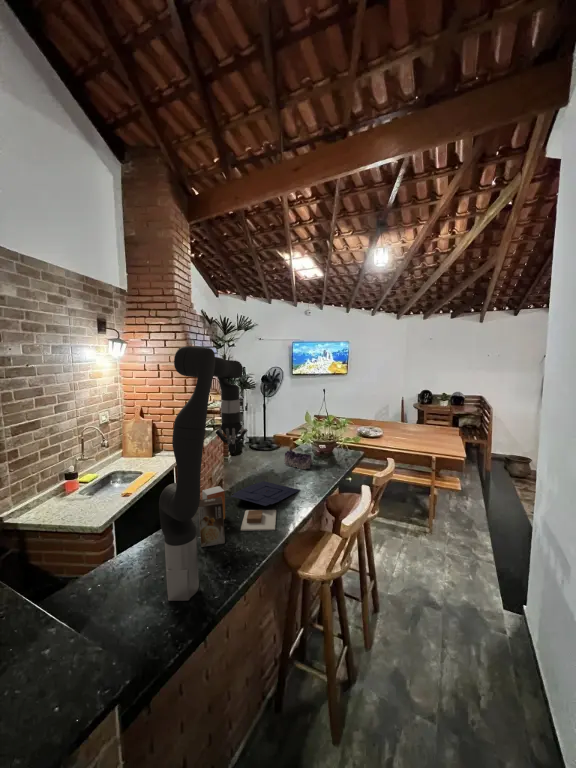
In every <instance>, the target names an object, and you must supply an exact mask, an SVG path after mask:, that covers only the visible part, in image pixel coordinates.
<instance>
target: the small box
mask: <svg viewBox="0 0 576 768" xmlns="http://www.w3.org/2000/svg"><path fill="white" fill-rule="evenodd" d="M201 493H202V499H210V498H217V497H221V498H222V503H223V518H224V520H226V495H225V493H226V491H225V490H224V489H223V488H222V487H221V485H219V486H218V485H217V486H215V487H209V488H206V489H202V491H201Z"/></svg>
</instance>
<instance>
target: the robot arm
mask: <svg viewBox="0 0 576 768" xmlns="http://www.w3.org/2000/svg"><path fill="white" fill-rule="evenodd" d="M173 366H174V369H175V370H176V372H177V373H178V374H180V375H181V376H185V377H190V378H197V380H196V384H195V387H194V391H193V393H192V394H191V397H190V398H189V399H188V401H187V402H186V404H184V406H183V407H182V408H181V409H180V410H179V412H178V413H177V415H176V417H175V419H174V422H173V423H174V424H173V428H172V429H173V430H172V437H171V438H172V440H171V441H172V442H171V443H172V445H171V446H172V451H173V456H174V460H175V463H176V470H177V480H176V482H173V483H171V484H168V485H167V486H166V487H164V488H163V490H161V491H162V492H161V493H160V495H159V500H158V513H159V523H160V529H161V531H162V534H163V537H164V555H165V556H164V557H165V571H166V572H165V574H166V589H167V600H168V601H169V602H171V601H172V602H173V601H175V602H176V601H177V602H178V601H179V602H181V601H182V602H183V601H185V602H186V601H190V599H191V598H192V597H193V596H194V595H196V593H197V592H198V591H199V586H200V584H199V567H198V566H199V564H198V563H199V562H198V561H199V560H198V546H197V545H198V543H197V541H198V540H197V528H196V527H197V526H196V524H195V522H194V521H193V518H194V517H195V515H196V514H197V512H198V511H199V503H200V500H201V469H202V462H203V451H204V442H205V435H206V428H207V427H206V426H207V416H208V409H209V407H208V406H209V400H210V394H211V389H212V385H213V379H214V377H217V380H218V383H219V388H220V394H221V395H220V396H221V402H220V403H221V404H220V412H221V413H220V416H221V417H220V418H221V425H220V428H218V429H216V431H215V434H216V435H217V436H218V438H219V439H220V440H221V441H222V442H223V444H227V448H228V449H227V450H228V452H229V453H230V454H234V453H235V452H236V451H237V447H236V446H237V445H236V444H238V443H239V442H241V440H242V439H243V437H244V436H245V435H246V433H247V432H248V429H247V428H244V427H243V425H242V423H241V402H240V389H239V386H238V385H237V384H233V383H230V382H229V380H228V379H231V380H233V379H236V380H237V379H239V378H240V377H242V375H243V372H244V367H243V364H242V363H241V362H240V361H239V360H234V359H232V360H231V359H225V358H222V357H217V356H216V355H215V352H214V349H212V348H209V347H203V346H190V345H186V346H181V347H179V348H178V349H177V351H176V352H175V354H174V358H173ZM238 433H240V434H239V436H238V437H237V435H238Z"/></svg>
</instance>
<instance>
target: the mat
mask: <svg viewBox="0 0 576 768" xmlns="http://www.w3.org/2000/svg"><path fill="white" fill-rule="evenodd" d="M253 510H254V509H246V510H245V511H244V515H243V519H242V522H241V526H240V531H244V532H245V531H247V532H251V531H276V519H277V509H261V510H262V521H261V523H247V516H248V512H249V511H253Z"/></svg>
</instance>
